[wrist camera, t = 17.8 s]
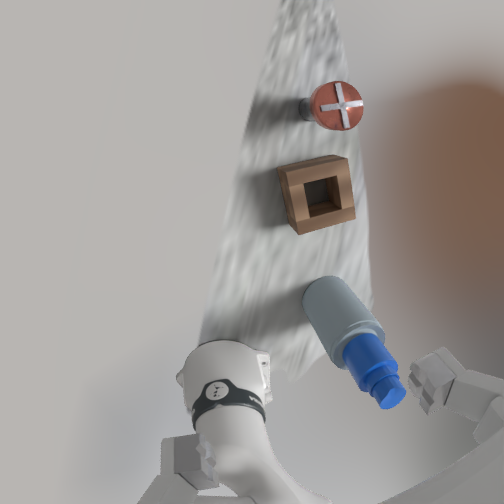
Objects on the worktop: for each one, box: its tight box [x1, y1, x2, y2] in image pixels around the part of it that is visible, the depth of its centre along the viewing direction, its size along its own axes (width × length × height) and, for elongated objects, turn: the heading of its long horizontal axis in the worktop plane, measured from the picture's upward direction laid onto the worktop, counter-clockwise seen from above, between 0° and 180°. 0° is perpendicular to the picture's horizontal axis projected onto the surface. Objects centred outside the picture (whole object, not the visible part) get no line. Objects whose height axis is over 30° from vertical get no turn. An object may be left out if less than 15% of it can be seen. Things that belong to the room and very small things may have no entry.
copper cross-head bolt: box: [299, 81, 363, 131], centre depth 36 cm, size 6×6×11 cm
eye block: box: [277, 155, 356, 235], centre depth 43 cm, size 9×9×5 cm
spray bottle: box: [302, 276, 406, 409], centre depth 42 cm, size 9×9×25 cm
